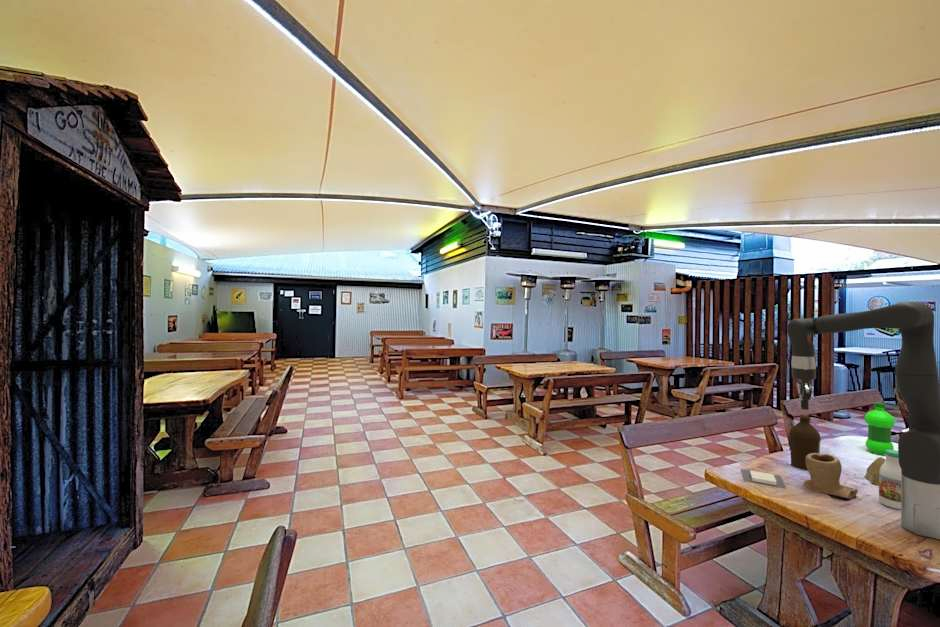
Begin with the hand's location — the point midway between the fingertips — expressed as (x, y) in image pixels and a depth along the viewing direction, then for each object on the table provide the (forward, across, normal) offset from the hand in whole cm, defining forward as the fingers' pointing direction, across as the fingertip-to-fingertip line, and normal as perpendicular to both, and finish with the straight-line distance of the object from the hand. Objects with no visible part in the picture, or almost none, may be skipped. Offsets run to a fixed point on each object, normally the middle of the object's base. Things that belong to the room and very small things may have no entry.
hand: (804, 409), depth 157 cm
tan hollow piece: (+32, +4, +6) cm, 33 cm away
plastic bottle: (+32, -63, +40) cm, 81 cm away
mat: (+31, +3, -15) cm, 35 cm away
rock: (+32, -20, +25) cm, 46 cm away
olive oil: (+32, -20, +3) cm, 38 cm away
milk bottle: (+32, +4, +24) cm, 40 cm away
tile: (+29, +1, -15) cm, 33 cm away
